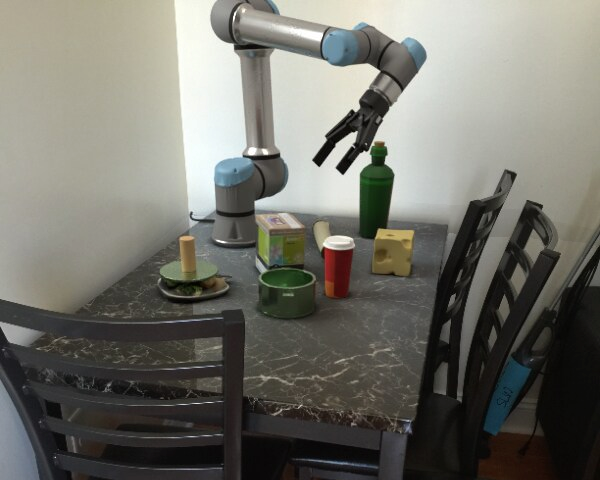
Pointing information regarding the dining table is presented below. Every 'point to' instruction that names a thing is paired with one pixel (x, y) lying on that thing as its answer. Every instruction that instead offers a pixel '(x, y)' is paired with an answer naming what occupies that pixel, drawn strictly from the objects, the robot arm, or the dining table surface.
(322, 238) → the rolling pin
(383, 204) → the bottle
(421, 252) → the dining table surface
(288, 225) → the tea box
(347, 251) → the paper cup
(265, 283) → the pot
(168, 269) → the lid
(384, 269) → the cheese
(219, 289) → the salad plate
